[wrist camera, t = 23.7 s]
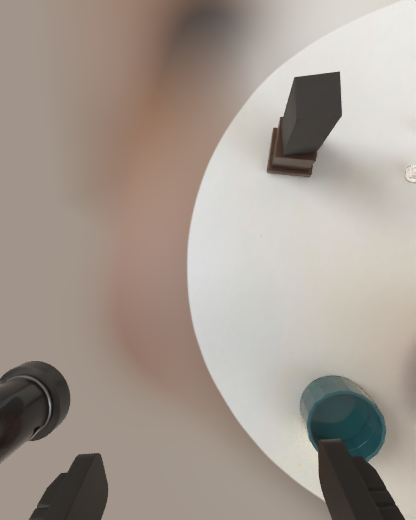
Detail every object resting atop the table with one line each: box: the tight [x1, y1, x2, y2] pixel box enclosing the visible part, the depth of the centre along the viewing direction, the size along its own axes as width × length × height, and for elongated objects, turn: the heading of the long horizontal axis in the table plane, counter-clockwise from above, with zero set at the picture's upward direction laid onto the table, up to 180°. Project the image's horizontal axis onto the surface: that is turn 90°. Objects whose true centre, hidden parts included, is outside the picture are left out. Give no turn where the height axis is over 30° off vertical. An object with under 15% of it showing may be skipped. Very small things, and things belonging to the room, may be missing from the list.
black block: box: [281, 72, 342, 156], centre depth 30 cm, size 4×4×9 cm
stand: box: [267, 117, 317, 177], centre depth 37 cm, size 6×6×5 cm
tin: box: [300, 376, 386, 461], centre depth 36 cm, size 9×9×4 cm
